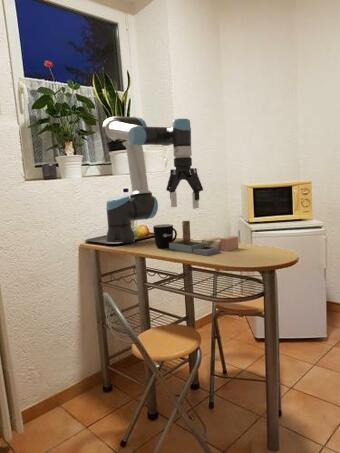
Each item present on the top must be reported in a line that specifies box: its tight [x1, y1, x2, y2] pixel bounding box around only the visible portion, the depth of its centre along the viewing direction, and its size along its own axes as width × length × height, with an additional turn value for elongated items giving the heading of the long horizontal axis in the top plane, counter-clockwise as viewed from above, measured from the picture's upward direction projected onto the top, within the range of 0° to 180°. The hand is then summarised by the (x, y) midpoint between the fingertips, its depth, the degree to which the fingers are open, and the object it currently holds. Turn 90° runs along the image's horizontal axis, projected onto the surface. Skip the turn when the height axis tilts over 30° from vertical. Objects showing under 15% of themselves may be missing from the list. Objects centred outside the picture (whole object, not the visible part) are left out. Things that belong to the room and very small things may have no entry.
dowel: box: [181, 220, 192, 246], centre depth 155 cm, size 3×3×12 cm
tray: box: [168, 239, 205, 254], centre depth 155 cm, size 14×8×3 cm, turn 41°
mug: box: [152, 223, 178, 250], centre depth 164 cm, size 12×9×10 cm
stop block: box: [220, 235, 239, 252], centre depth 151 cm, size 3×8×5 cm, turn 131°
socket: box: [192, 246, 221, 257], centre depth 147 cm, size 8×8×2 cm
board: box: [201, 236, 222, 251], centre depth 157 cm, size 10×8×4 cm
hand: (184, 207), depth 154 cm, fingers open, 13 cm apart
